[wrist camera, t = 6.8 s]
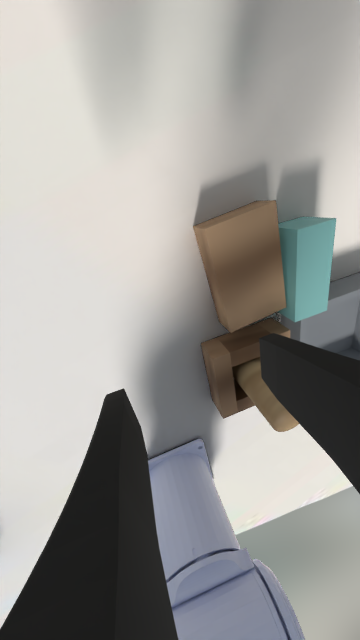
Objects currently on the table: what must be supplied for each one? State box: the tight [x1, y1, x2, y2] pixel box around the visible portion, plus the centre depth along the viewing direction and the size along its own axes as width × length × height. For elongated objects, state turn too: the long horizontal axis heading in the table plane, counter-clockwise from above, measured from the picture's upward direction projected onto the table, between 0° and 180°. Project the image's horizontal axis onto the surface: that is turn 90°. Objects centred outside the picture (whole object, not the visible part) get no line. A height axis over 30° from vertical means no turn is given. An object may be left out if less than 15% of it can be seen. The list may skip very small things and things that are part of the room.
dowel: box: [232, 357, 299, 432], centre depth 20 cm, size 3×3×7 cm
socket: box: [201, 318, 290, 419], centre depth 22 cm, size 7×7×2 cm
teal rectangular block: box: [277, 217, 336, 322], centre depth 19 cm, size 7×3×3 cm, turn 12°
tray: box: [281, 272, 360, 360], centre depth 23 cm, size 9×9×2 cm
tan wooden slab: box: [193, 201, 286, 333], centre depth 18 cm, size 8×5×2 cm, turn 18°
